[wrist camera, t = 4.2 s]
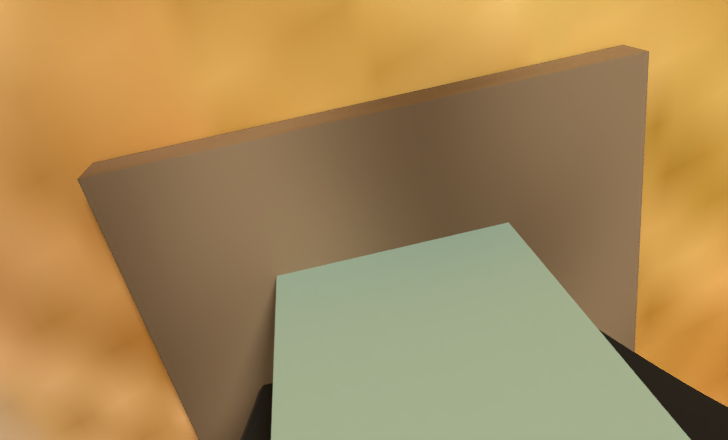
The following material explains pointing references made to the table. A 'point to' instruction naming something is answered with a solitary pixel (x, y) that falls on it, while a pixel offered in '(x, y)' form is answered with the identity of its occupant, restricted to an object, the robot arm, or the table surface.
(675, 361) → the table surface
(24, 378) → the table surface
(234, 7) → the table surface
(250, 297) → the pin block
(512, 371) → the green sleeve
